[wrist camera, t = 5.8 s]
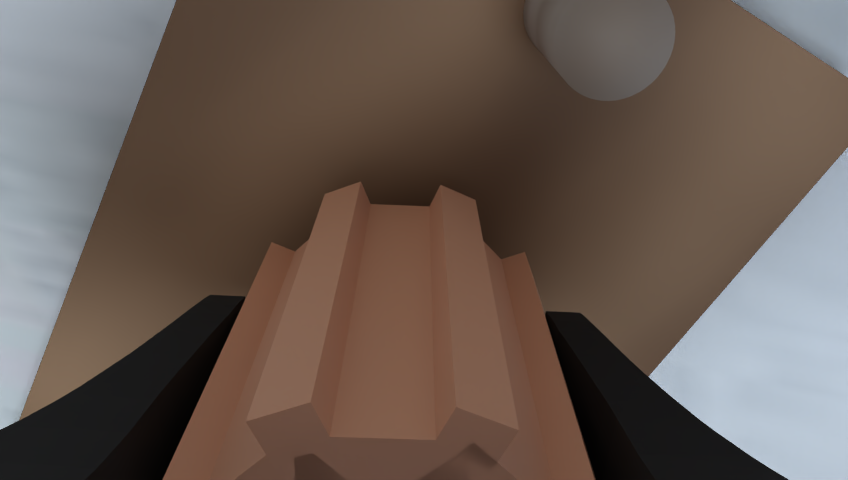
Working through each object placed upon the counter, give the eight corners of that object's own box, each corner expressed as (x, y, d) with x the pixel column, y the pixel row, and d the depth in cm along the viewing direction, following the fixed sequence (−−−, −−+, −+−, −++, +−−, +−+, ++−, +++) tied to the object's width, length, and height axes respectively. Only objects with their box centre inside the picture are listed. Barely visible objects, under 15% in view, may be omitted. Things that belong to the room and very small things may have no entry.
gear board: (840, 84, 14) (1050, 171, 9) (384, 633, 21) (374, 831, 17) (302, -270, 11) (219, -398, 6) (4, 501, 19) (-131, 692, 14)
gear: (548, 189, 12) (651, 413, 7) (516, 418, 14) (574, 725, 9) (252, 177, 12) (111, 395, 6) (268, 410, 14) (174, 716, 9)
